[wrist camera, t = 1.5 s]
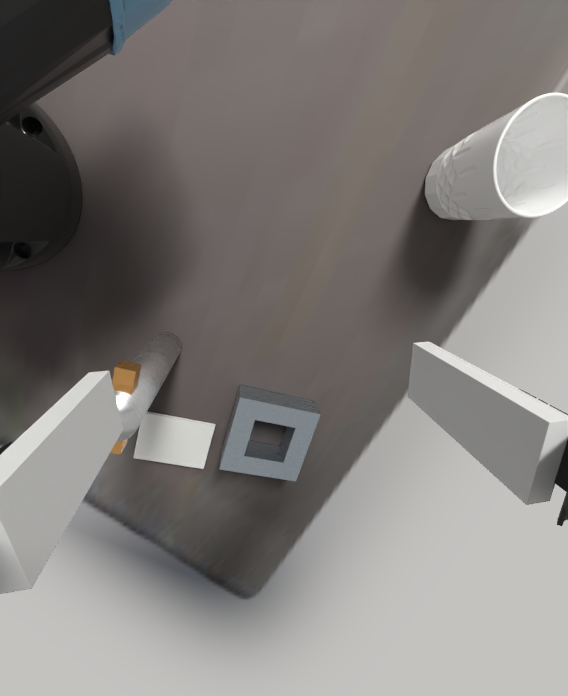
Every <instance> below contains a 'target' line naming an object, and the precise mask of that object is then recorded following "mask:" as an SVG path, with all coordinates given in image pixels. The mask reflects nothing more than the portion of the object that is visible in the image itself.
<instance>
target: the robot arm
mask: <svg viewBox="0 0 568 696" xmlns="http://www.w3.org/2000/svg"><path fill="white" fill-rule="evenodd" d="M171 1H172V0H0V271H4V270H14V269H22V268H27V267H31V266H35V265H37V264H40V263H42V262H44V261H46V260H48V259H50V258H51V257H53V256H54V255H56V254H57V253H58V252H59V251H60V250H61V249H62V248H63V247H64V246H65V245H66V244H67V242H68V241H69V240H70V238H71V237H72V235H73V233H74V231H75V229H76V227H77V224H78V221H79V217H80V213H81V207H82V187H81V180H80V175H79V171H78V167H77V164H76V161H75V159H74V156H73V154H72V151H71V149H70V147H69V145H68V143H67V142H66V140H65V138H64V136H63V135H62V133H61V132H60V130H59V129H58V128H57V126H56V125H55V124H54V122H53V121H52V120H51V119H50V117H49V116H48V115H47V114H46V113H45V112H44V111H43V110H42V109H41V108H40V107H39V106H38V105H37V104H36V103H35V101H37V100H38V99H40V98H41V97H43V96H45V95H46V94H48V93H49V92H51V91H52V90H54V89H55V88H57V87H58V86H60V85H61V84H63V83H64V82H66V81H67V80H69V79H71V78H72V77H74V76H75V75H77V74H78V73H80V72H81V71H83V70H84V69H86V68H87V67H89V66H90V65H92V64H93V63H95V62H97V61H98V60H100V59H101V58H103V57H104V56H106V55H107V54H112V55H116V54H117V53H119V52H120V51H121V49H122V47H123V44H124V41H125V40H126V39H127V38H129V37H130V36H131V35H132V34H133V33H134V32H136V31H137V30H138V29H139V28H141V27H142V26H143V25H144V24H146V23H147V22H148V21H150V20H151V19H152V18H153V17H155V16H156V15H157V14H159V13H160V12H161V11H162V10H164V9H165V8H166V7H167V6H168V5H169V4H170V2H171ZM408 397H409V398H410V399H411V400H412V401H413V402H414V403H415V404H416V405H418V406H419V407H420V408H421V409H422V410H423V411H424V412H425V413H426V414H427V415H429V417H431V418H432V419H433V420H434V421H435V422H436V423H437V424H438V425H439V426H440V427H442V428H443V429H444V430H445V431H446V432H447V433H448V434H449V435H450V436H452V437H453V438H454V439H455V440H456V441H457V442H458V443H459V444H460V445H461V446H462V447H464V448H465V449H466V450H467V451H468V452H469V453H470V454H471V455H472V456H473V457H474V458H476V459H477V460H478V461H479V462H480V463H481V464H482V465H483V466H484V467H485V468H487V469H488V470H489V471H490V472H491V473H492V474H493V475H494V476H495V477H497V478H498V479H499V480H500V481H501V482H502V483H503V484H504V485H505V486H506V487H507V488H509V489H510V490H511V491H512V492H513V493H514V494H515V495H516V496H517V497H518V498H519V499H521V500H522V501H523V502H524V503H525V504H526V505H528V504H534V503H540V502H546V501H550V498H551V495H552V492H553V489H554V485H555V483H556V484H557V485H558V486H560V487H561V488H562V489H563V490H565V491H566V492H567V493H566V496H565V499H564V502H563V505H562V508H561V511H560V514H559V517H558V521H557V525H560V526H562V525H563V522H564V521H565V520H567V519H568V414H566V413H565V412H562V411H561V410H559V409H557V408H555V407H553V406H551V405H548V404H547V403H546V402H544V401H542V400H540V399H536V397H534V396H532V395H530V394H528V393H527V392H525V391H523V390H520V389H517V388H515V387H513V386H512V385H510V384H508V383H506V382H504V381H502V380H500V379H498V378H496V377H495V376H493V375H491V374H489V373H487V372H485V371H483V370H481V369H480V368H478V367H476V366H474V365H472V364H470V363H468V362H466V361H465V360H463V359H461V358H459V357H457V356H455V355H453V354H451V353H449V352H448V351H446V350H444V349H442V348H440V347H438V346H436V345H434V344H432V343H431V342H419V343H413V351H412V361H411V371H410V380H409V390H408ZM122 431H123V425H122V421H121V417H120V413H119V409H118V405H117V401H116V397H115V392H114V388H113V384H112V380H111V376H110V372H109V371H100V372H89V373H88V374H87V375H86V376H85V377H84V378H82V379H81V380H80V381H79V382H78V383H77V384H76V385H75V386H74V387H73V388H72V389H71V390H70V391H68V392H67V393H66V394H65V395H64V396H63V397H62V398H61V399H60V400H59V401H58V402H57V403H56V404H54V405H53V406H52V407H51V408H50V409H49V410H48V411H47V412H46V413H45V414H44V415H43V416H42V417H40V418H39V419H38V420H37V421H36V422H35V423H34V424H33V425H32V426H31V427H30V428H29V429H28V430H26V431H25V432H24V433H23V434H22V435H21V436H20V437H19V438H18V439H17V440H16V441H15V442H10V443H8V444H7V445H5V446H3V447H2V448H0V594H2V593H8V592H14V591H20V590H26V589H32V587H33V585H34V583H35V582H36V580H37V578H38V576H39V575H40V573H41V571H42V569H43V568H44V566H45V564H46V562H47V561H48V559H49V557H50V556H51V554H52V552H53V550H54V549H55V547H56V545H57V544H58V542H59V540H60V538H61V537H62V535H63V533H64V531H65V530H66V528H67V526H68V524H69V523H70V521H71V519H72V518H73V516H74V514H75V512H76V511H77V509H78V507H79V505H80V504H81V502H82V500H83V498H84V497H85V495H86V493H87V492H88V490H89V488H90V486H91V485H92V483H93V481H94V479H95V478H96V476H97V474H98V472H99V471H100V469H101V467H102V466H103V464H104V462H105V460H106V459H107V457H108V455H109V453H110V452H111V450H112V448H113V446H114V445H115V443H116V441H117V440H118V438H119V436H120V434H121V433H122Z"/></svg>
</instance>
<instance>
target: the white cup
mask: <svg viewBox="0 0 568 696" xmlns="http://www.w3.org/2000/svg"><path fill="white" fill-rule="evenodd" d="M425 197H426V200H427V202H428V205H429V208H430V209H431V210H432V211H433V212H434V213H435V214H436V215H438V216H439V217H440V218H444V219H450V220H495V219H514V218H535V217H541V216H544V215H547V214H550V213H552V212H554V211H555V210H557V209H559V208H560V207H561V206H563V205H564V204H565V203H566V202H567V201H568V95H567V94H563V93H549V94H544V95H541V96H538V97H536V98H534V99H532V100H531V101H529V102H527V103H525V104H524V105H522V106H520V107H518V108H517V109H515V110H513V111H511V112H510V113H508V114H506V115H504V116H502V117H501V118H499V119H497V120H495V121H493V122H492V123H490V124H488V125H486V126H484V127H483V128H481V129H479V130H478V131H476V132H475V133H473V134H471V135H469V136H468V137H466V138H465V139H463V140H462V141H460V142H459V143H458V144H456V145H454V146H452V147H450V148H448V149H446V150H445V151H444V152H443V153H442V154H441V155H440V156H439V157H438V158H437V159H436V160H435V161H434V162H433V163H432V165H431V167H430V169H429V172H428V174H427V176H426V179H425Z"/></svg>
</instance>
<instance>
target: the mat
mask: <svg viewBox="0 0 568 696" xmlns="http://www.w3.org/2000/svg"><path fill="white" fill-rule="evenodd" d="M214 428H215V424H212V423H207V422H201V421H196V420H191V419H185V418H180V417H175V416H169V415H164V414H159V413H154V412H148V411H147V413H146V414H145V416H144V418H143V420H142V421H141V423H140V428H139V433H138V438H137V443H136V448H135V453H134V458H136V459H143V460H149V461H156V462H162V463H168V464H175V465H181V466H187V467H194V468H200V469H204V465H205V461H206V458H207V454H208V450H209V447H210V443H211V439H212V436H213V432H214Z"/></svg>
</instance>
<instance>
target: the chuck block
mask: <svg viewBox="0 0 568 696" xmlns="http://www.w3.org/2000/svg"><path fill="white" fill-rule="evenodd" d="M320 415H321V414H320V412H319V410H318V408H317V406H316V404H315V402H314V401H312V400H308V399H303V398H299V397H294V396H290V395H285V394H280V393H276V392H271V391H267V390H262V389H258V388H253V387H248V386H244V385H240V386H239V390H238V393H237V397H236V400H235V404H234V407H233V411H232V414H231V418H230V421H229V425H228V429H227V432H226V436H225V439H224V443H223V446H222V450H221V457H220V468H219V469H220V470H227V471H233V472H239V473H246V474H252V475H258V476H264V477H271V478H277V479H283V480H290V481H296V480H297V477H298V475H299V472H300V469H301V466H302V464H303V461H304V458H305V455H306V453H307V450H308V447H309V445H310V442H311V439H312V436H313V434H314V431H315V428H316V425H317V423H318V420H319V417H320ZM255 420H258V421H263V422H268V423H273V424H278V425H283V426H287V427H286V430H285V433H284V436H283V439H282V442H281V445H280V446H278V445H272V444H267V443H261V442H256V441H250V440H249V438H250V435H251V431H252V428H253V425H254V421H255Z"/></svg>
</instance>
